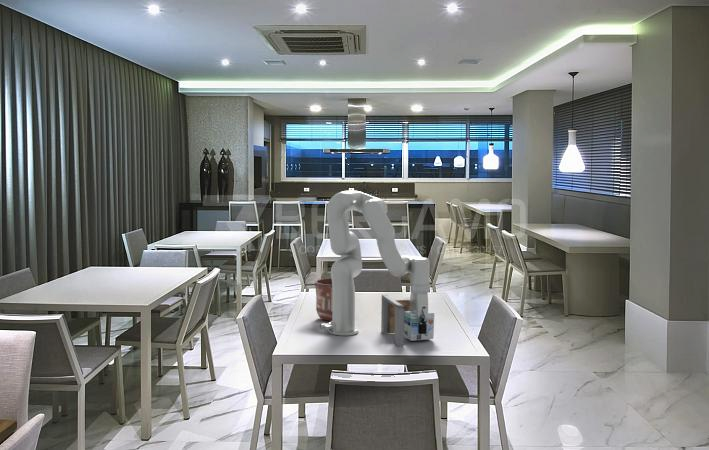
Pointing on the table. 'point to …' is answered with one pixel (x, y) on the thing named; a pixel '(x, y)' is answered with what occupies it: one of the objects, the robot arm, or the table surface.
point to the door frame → (398, 319)
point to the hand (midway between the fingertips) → (418, 330)
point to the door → (392, 314)
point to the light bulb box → (417, 326)
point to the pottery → (324, 299)
